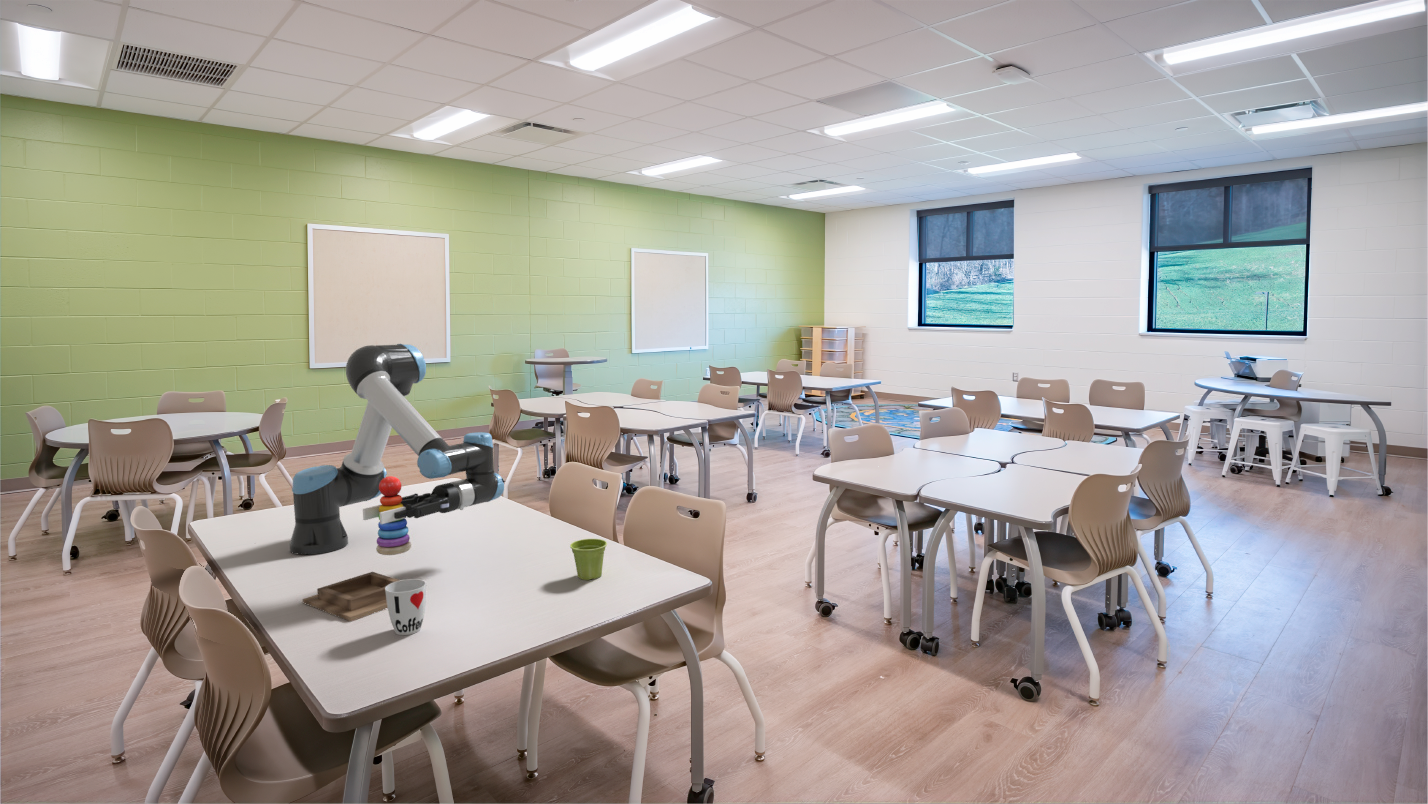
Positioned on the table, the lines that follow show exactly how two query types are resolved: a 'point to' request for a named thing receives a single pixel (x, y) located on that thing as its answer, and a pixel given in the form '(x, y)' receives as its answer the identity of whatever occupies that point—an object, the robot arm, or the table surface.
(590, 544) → the plant pot
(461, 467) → the robot arm
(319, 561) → the table surface
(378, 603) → the walnut jig
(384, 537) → the stacking toy
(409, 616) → the cup
